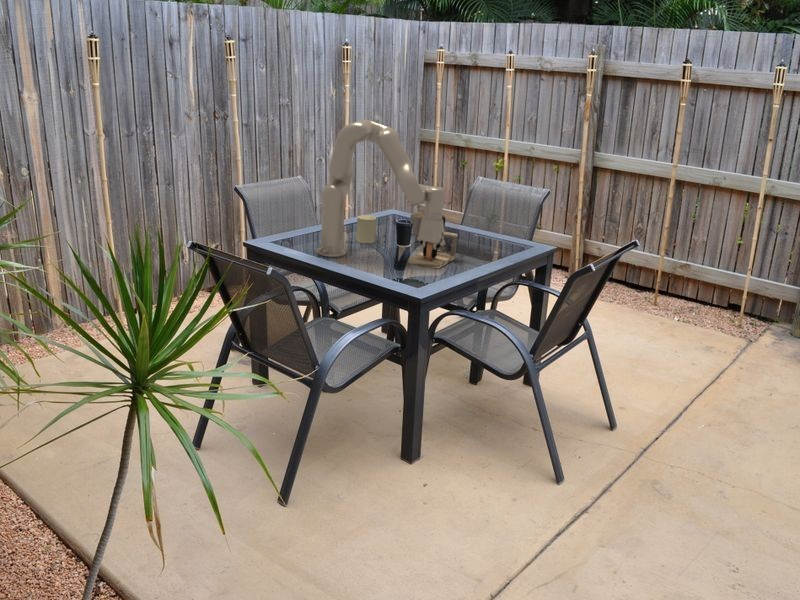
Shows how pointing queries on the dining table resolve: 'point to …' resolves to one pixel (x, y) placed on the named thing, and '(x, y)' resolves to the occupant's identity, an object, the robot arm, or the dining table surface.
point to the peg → (429, 251)
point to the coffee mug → (416, 222)
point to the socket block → (440, 257)
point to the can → (366, 229)
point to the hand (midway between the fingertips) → (429, 256)
